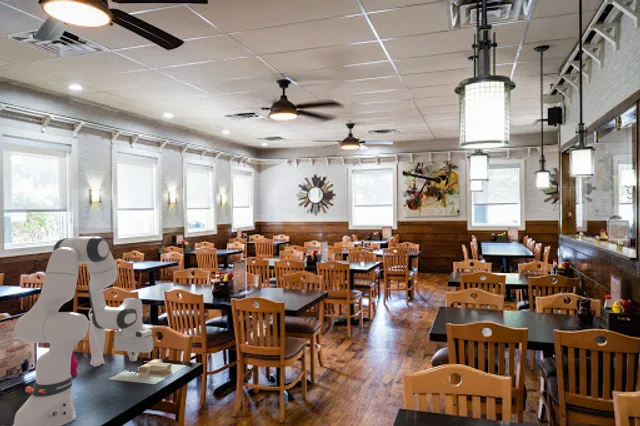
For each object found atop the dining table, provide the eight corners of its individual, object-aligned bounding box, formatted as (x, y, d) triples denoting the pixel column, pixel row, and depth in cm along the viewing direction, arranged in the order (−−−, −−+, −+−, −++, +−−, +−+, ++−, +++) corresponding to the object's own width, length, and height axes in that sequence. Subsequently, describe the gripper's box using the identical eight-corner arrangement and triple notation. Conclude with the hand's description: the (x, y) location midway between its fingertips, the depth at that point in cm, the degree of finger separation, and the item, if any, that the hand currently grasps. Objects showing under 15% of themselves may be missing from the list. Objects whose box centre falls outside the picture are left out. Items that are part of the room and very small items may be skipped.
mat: (155, 384, 196) (155, 384, 196) (108, 379, 203) (108, 378, 203) (186, 366, 219) (186, 365, 219) (143, 362, 226) (143, 361, 226)
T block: (161, 378, 203) (160, 369, 203) (138, 376, 206) (138, 367, 206) (176, 369, 214) (176, 360, 214) (155, 367, 217) (154, 358, 217)
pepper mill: (59, 379, 205) (58, 335, 204) (61, 374, 211) (60, 332, 211) (77, 376, 208) (76, 333, 207) (79, 371, 214) (78, 330, 214)
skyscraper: (86, 364, 224) (85, 308, 224) (101, 360, 230) (100, 306, 230) (92, 367, 219) (91, 310, 219) (108, 363, 225) (107, 308, 224)
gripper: (110, 331, 213) (110, 360, 213) (146, 334, 207) (146, 364, 207) (119, 328, 219) (120, 356, 219) (155, 330, 213) (155, 360, 213)
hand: (133, 360), depth 213 cm, fingers closed
